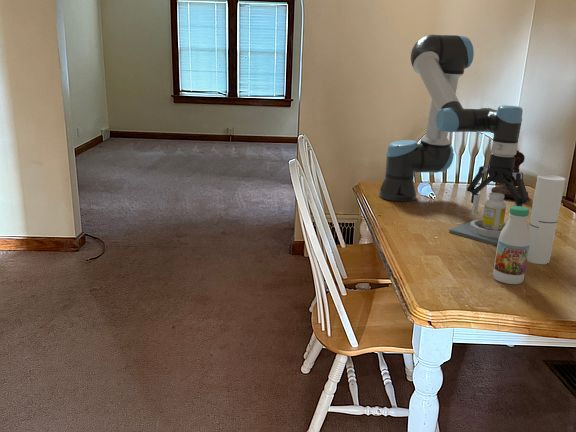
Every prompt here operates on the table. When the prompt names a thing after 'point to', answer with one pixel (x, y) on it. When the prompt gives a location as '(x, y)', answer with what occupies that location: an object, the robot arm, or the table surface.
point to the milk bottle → (513, 248)
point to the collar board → (477, 232)
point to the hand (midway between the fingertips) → (493, 217)
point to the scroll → (503, 189)
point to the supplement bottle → (494, 212)
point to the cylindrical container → (544, 217)
